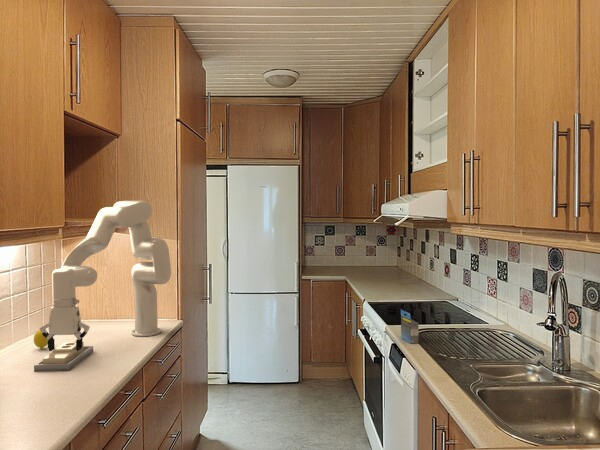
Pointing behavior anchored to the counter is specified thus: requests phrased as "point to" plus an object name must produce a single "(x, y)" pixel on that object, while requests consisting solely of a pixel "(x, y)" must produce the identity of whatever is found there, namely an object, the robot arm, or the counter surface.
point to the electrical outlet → (63, 354)
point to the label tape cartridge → (408, 328)
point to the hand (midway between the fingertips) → (65, 350)
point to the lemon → (40, 340)
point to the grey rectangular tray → (64, 367)
